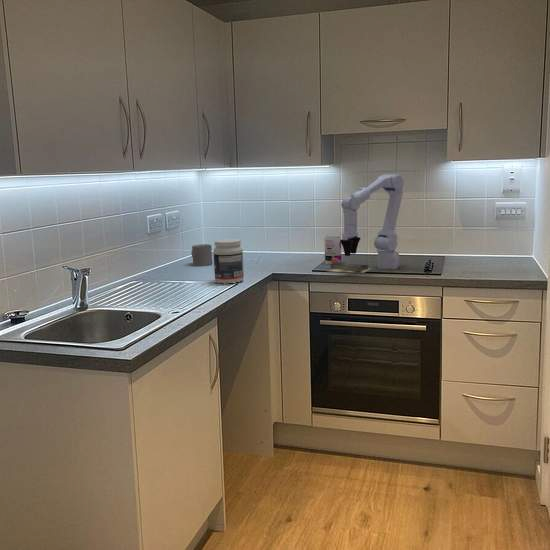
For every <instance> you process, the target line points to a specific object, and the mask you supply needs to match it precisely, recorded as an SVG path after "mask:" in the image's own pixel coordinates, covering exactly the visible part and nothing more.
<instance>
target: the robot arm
mask: <svg viewBox="0 0 550 550" xmlns="http://www.w3.org/2000/svg"><path fill="white" fill-rule="evenodd" d="M404 185H405V180H404V178H403V177H402V175H401V174H399V173H395V174H388V173H383V174H382V175H379V176H378V177H377V179H376V180H374V181H373V182H372V183H371V184H369V185H368V186H366V187H359V188H358V189H357V190H356V191H355V192H353V193H351V194H350V195H349V196H345V197H344V198H342V201H341V204H340V206H341V208H342V209H343V233H341V236H342V238H341V240H340V242H341V247H342V248H343V252H344V256H345V257H349V256H351V255H353V254H355V255H356V254H357V250H358V247H359V243H360V241H361V237H359V232H358V210H359V209H360V207H361V205H362V204H364V203H365V202H366V201H368V200H369V199H370V198H371V195H372V194H373V193H375V192H376V191H377V192H378V190H380V189H381V188H382V189H383V190H384V191H385V192H386V193H387V194H388V196H389V198H388V203H387V206H386V207H387V208H386V212H385V217H384V220H383V224H382V228H381V229H380V230H379V232H378V233H377V235H376V237H375V239H374V241H373V244H374V248H375V249H376V251H377V269H380V270H381V269H382V270H397V269H398V268H400V253H399V251H396V249H397V247H398V237H399V236H398V235H397V234H396V232H395V230H396V225H397V222H398V221H397V220H398V216H399V212H400V208H401V203H402V200H403V199H402V198H403V191H404V190H403V188H404Z"/></svg>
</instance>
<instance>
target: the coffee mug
mask: <svg viewBox="0 0 550 550" xmlns="http://www.w3.org/2000/svg"><path fill="white" fill-rule="evenodd" d="M212 247H213V246H212V244H208V243H206V244H205V243H204V244H194V245H192V246H191V257H192V266H194V267H209V266H212V265H213V251H212V250H213V249H212Z"/></svg>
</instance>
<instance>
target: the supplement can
mask: <svg viewBox="0 0 550 550" xmlns="http://www.w3.org/2000/svg"><path fill="white" fill-rule="evenodd" d="M341 239H342V236H341V235H340V234H326V235H325V237H324V264H325V265H327V266H328V265H330V266H331V264H332V258H338V262H342V258H343V257H342V244H341V242H340V240H341ZM342 263H343V262H342Z"/></svg>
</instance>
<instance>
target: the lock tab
mask: <svg viewBox="0 0 550 550" xmlns="http://www.w3.org/2000/svg"><path fill="white" fill-rule="evenodd" d="M332 263H338V258H332Z"/></svg>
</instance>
